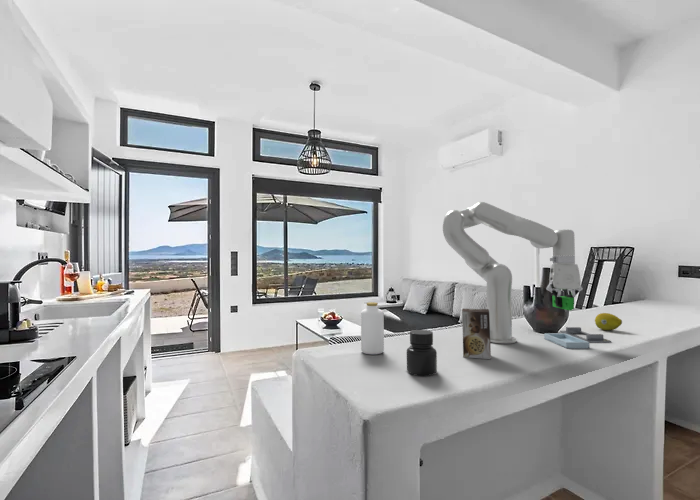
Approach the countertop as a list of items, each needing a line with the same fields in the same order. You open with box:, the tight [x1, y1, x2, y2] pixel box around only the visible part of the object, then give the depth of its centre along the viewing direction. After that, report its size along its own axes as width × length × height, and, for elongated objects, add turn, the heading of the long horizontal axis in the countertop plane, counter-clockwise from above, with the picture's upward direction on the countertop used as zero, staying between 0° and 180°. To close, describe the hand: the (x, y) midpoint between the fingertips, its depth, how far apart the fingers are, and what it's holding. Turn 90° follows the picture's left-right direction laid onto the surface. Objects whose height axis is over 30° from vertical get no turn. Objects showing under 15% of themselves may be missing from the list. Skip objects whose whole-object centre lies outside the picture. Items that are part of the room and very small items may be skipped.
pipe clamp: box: [551, 295, 575, 311], centre depth 140 cm, size 11×4×5 cm, turn 179°
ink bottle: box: [406, 329, 438, 377], centre depth 106 cm, size 10×9×12 cm
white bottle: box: [360, 301, 385, 356], centre depth 129 cm, size 8×8×18 cm
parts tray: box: [543, 332, 591, 349], centre depth 139 cm, size 9×16×2 cm, turn 179°
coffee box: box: [461, 308, 492, 360], centre depth 123 cm, size 9×6×16 cm
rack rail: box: [559, 326, 612, 344], centre depth 150 cm, size 9×20×3 cm, turn 178°
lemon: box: [594, 312, 623, 332], centre depth 163 cm, size 11×8×8 cm
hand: (564, 306), depth 140 cm, fingers closed on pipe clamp, 3 cm apart
